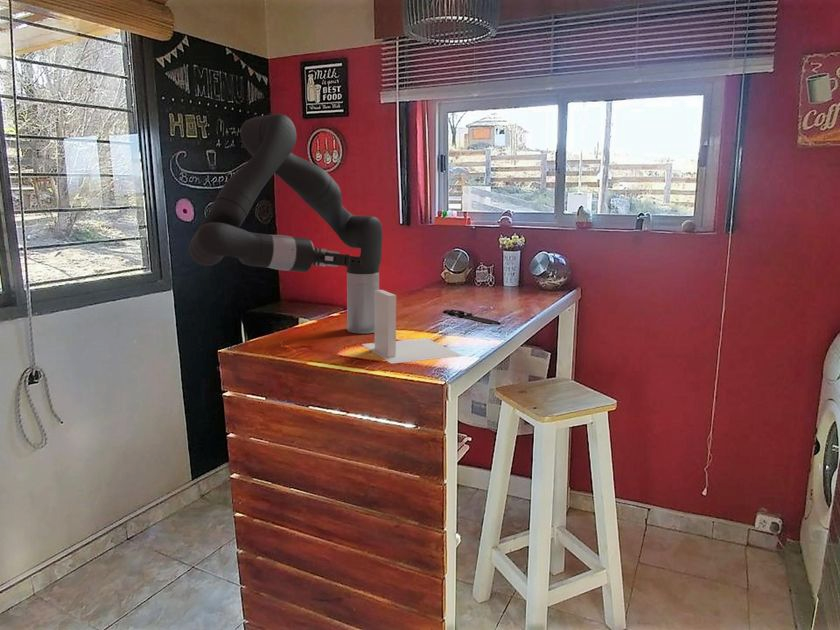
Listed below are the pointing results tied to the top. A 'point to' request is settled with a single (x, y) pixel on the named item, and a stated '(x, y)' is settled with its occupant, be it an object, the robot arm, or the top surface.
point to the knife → (468, 316)
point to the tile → (385, 323)
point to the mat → (415, 351)
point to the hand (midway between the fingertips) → (353, 261)
